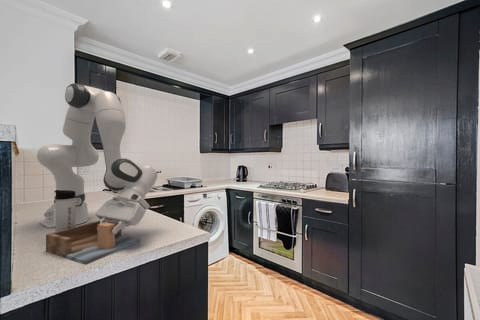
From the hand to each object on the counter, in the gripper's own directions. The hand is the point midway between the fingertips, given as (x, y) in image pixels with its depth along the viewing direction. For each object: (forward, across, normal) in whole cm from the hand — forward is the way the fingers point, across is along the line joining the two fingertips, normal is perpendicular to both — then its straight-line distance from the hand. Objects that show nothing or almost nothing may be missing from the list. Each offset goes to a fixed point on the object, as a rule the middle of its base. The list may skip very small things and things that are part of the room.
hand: (105, 231), depth 78 cm
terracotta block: (+4, 0, +4) cm, 5 cm away
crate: (+4, -6, +5) cm, 9 cm away
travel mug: (+5, -23, +4) cm, 24 cm away
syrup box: (-11, -20, +20) cm, 31 cm away
